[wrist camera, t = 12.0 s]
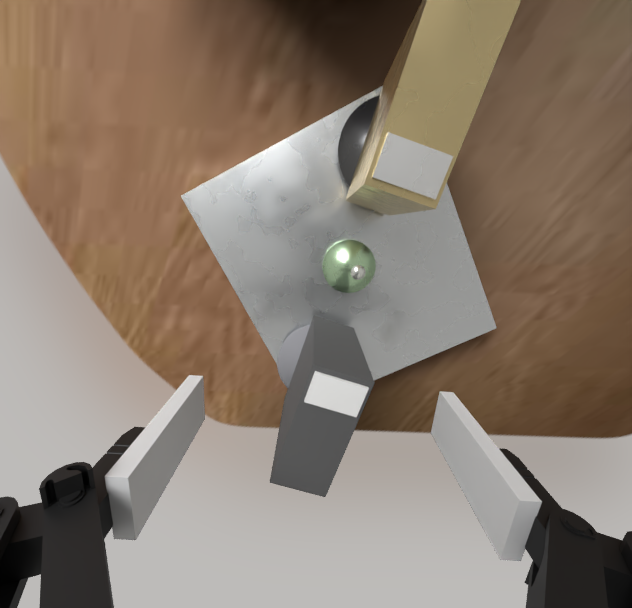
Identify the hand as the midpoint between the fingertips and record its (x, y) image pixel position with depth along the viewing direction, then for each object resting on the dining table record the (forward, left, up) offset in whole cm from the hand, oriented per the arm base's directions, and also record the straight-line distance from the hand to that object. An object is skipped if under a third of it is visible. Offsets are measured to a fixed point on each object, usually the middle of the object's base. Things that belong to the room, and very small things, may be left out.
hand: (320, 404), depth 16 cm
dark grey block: (0, 0, -6) cm, 6 cm away
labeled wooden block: (-11, +10, -6) cm, 16 cm away
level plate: (-5, +5, -8) cm, 11 cm away
